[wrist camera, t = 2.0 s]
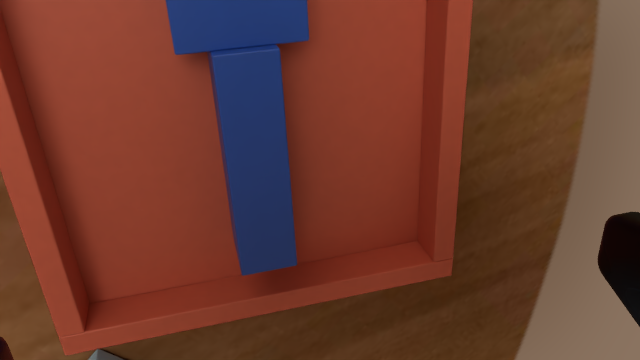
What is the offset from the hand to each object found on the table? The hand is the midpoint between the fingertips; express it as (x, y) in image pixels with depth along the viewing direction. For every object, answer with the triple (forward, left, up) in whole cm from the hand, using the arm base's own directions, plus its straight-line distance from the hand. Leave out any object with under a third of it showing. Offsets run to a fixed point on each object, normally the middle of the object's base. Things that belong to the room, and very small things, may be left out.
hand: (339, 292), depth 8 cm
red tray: (0, 0, -11) cm, 11 cm away
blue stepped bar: (0, 0, -10) cm, 10 cm away
